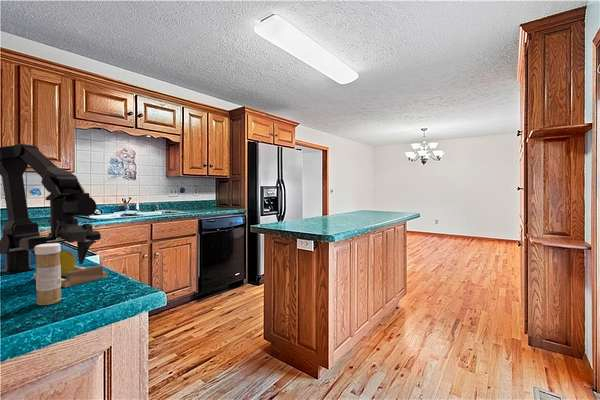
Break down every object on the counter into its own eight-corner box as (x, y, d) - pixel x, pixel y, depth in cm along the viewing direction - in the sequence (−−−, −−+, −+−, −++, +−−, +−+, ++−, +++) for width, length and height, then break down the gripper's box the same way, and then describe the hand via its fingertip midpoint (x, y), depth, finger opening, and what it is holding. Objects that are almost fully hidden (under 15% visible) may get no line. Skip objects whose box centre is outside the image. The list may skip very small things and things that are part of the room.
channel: (33, 279, 88) (33, 267, 88) (75, 270, 98) (75, 259, 98) (65, 287, 80) (65, 274, 80) (107, 276, 90) (107, 265, 90)
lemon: (56, 275, 92) (56, 249, 92) (78, 273, 94) (77, 247, 94) (49, 280, 87) (48, 252, 87) (72, 278, 89) (71, 251, 89)
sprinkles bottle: (46, 299, 72) (44, 242, 71) (66, 298, 72) (65, 242, 72) (30, 306, 67) (29, 246, 67) (52, 305, 67) (51, 246, 67)
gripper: (38, 219, 78) (39, 279, 78) (110, 214, 95) (111, 263, 95) (17, 217, 83) (19, 273, 83) (90, 213, 100) (91, 260, 100)
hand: (64, 267), depth 90 cm, fingers open, 9 cm apart
